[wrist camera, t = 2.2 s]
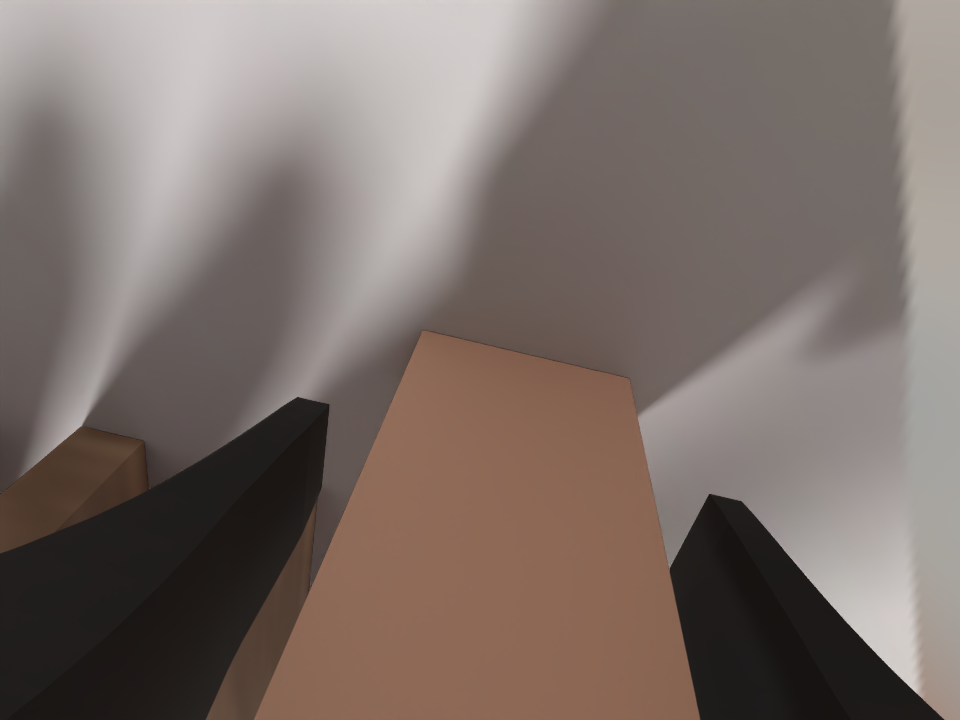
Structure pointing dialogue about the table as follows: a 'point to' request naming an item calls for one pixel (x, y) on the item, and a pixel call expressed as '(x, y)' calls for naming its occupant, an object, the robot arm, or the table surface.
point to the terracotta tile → (493, 558)
